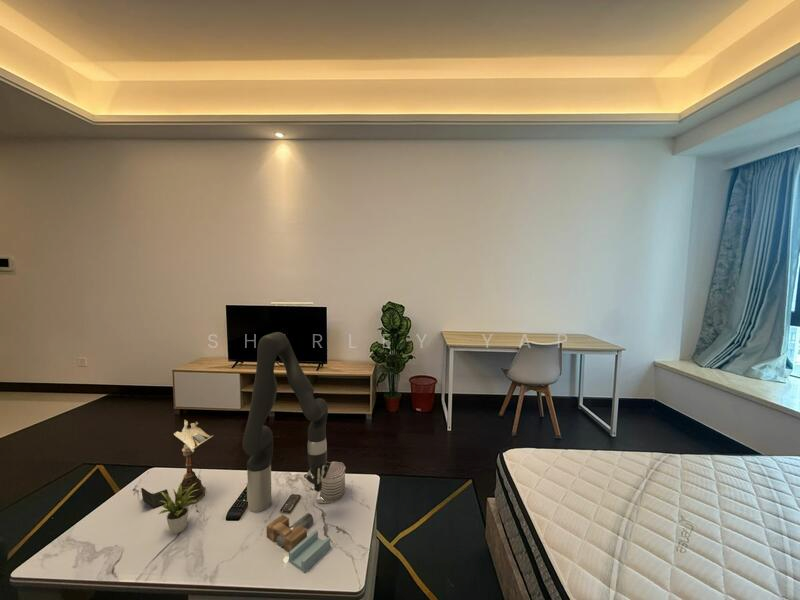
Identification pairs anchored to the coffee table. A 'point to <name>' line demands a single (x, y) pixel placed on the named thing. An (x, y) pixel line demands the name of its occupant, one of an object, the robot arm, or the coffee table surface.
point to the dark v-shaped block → (154, 498)
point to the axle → (304, 522)
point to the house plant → (177, 510)
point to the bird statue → (189, 449)
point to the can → (334, 483)
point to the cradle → (309, 551)
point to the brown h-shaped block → (286, 532)
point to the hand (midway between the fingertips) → (318, 490)
